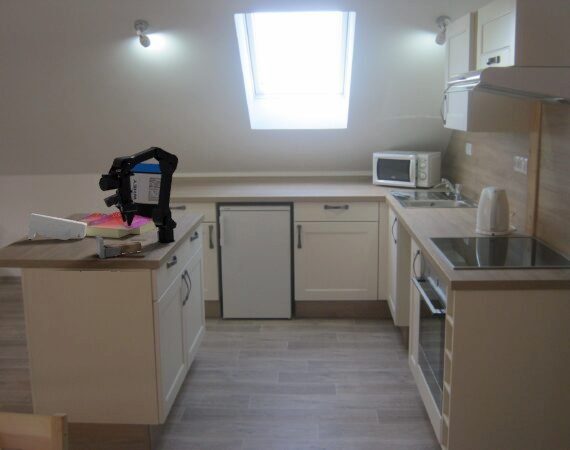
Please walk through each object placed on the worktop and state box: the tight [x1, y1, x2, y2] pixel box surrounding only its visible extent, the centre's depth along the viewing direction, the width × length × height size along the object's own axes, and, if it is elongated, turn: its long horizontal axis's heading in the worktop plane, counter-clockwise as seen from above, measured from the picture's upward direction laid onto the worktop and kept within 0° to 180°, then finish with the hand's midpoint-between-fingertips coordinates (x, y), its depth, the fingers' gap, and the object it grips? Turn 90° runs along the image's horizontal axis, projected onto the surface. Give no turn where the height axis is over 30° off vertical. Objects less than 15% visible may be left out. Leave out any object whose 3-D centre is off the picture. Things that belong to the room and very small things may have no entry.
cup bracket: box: [94, 234, 121, 260], centre depth 261 cm, size 8×10×8 cm
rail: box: [105, 241, 143, 254], centre depth 264 cm, size 14×4×4 cm, turn 118°
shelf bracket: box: [27, 213, 87, 241], centre depth 289 cm, size 6×25×13 cm, turn 92°
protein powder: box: [130, 162, 161, 219], centre depth 329 cm, size 10×24×30 cm, turn 67°
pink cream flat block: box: [76, 211, 156, 239], centre depth 305 cm, size 38×25×10 cm
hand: (126, 224), depth 266 cm, fingers open, 9 cm apart
